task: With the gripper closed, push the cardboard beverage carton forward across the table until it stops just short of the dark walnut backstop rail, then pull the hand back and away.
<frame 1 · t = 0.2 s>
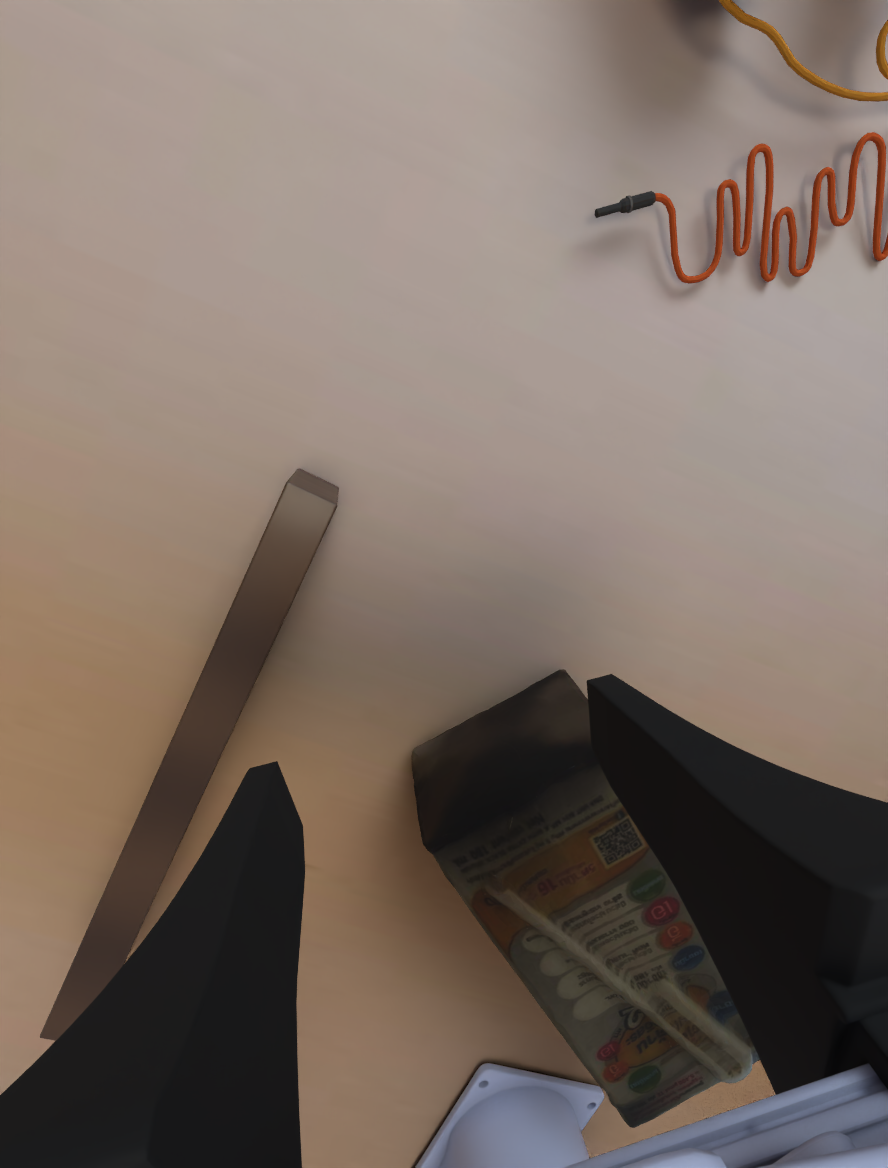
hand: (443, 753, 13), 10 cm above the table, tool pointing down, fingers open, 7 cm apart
backstop rail: (205, 727, 23), on the table
beverage carton: (569, 848, 28), on the table
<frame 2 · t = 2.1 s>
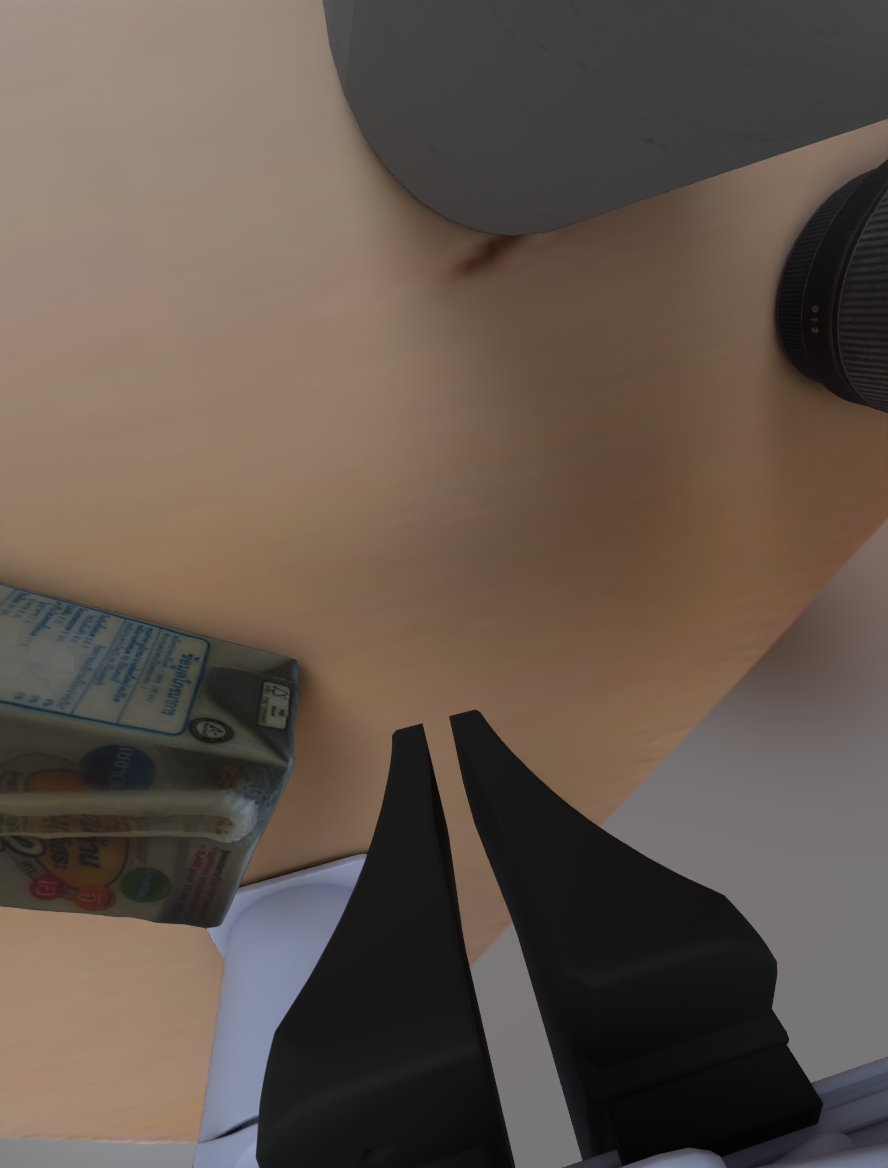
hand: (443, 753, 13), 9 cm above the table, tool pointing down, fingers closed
water bottle: (501, 31, 16), on the table
camera lens: (860, 282, 20), on the table
beverage carton: (6, 670, 20), on the table
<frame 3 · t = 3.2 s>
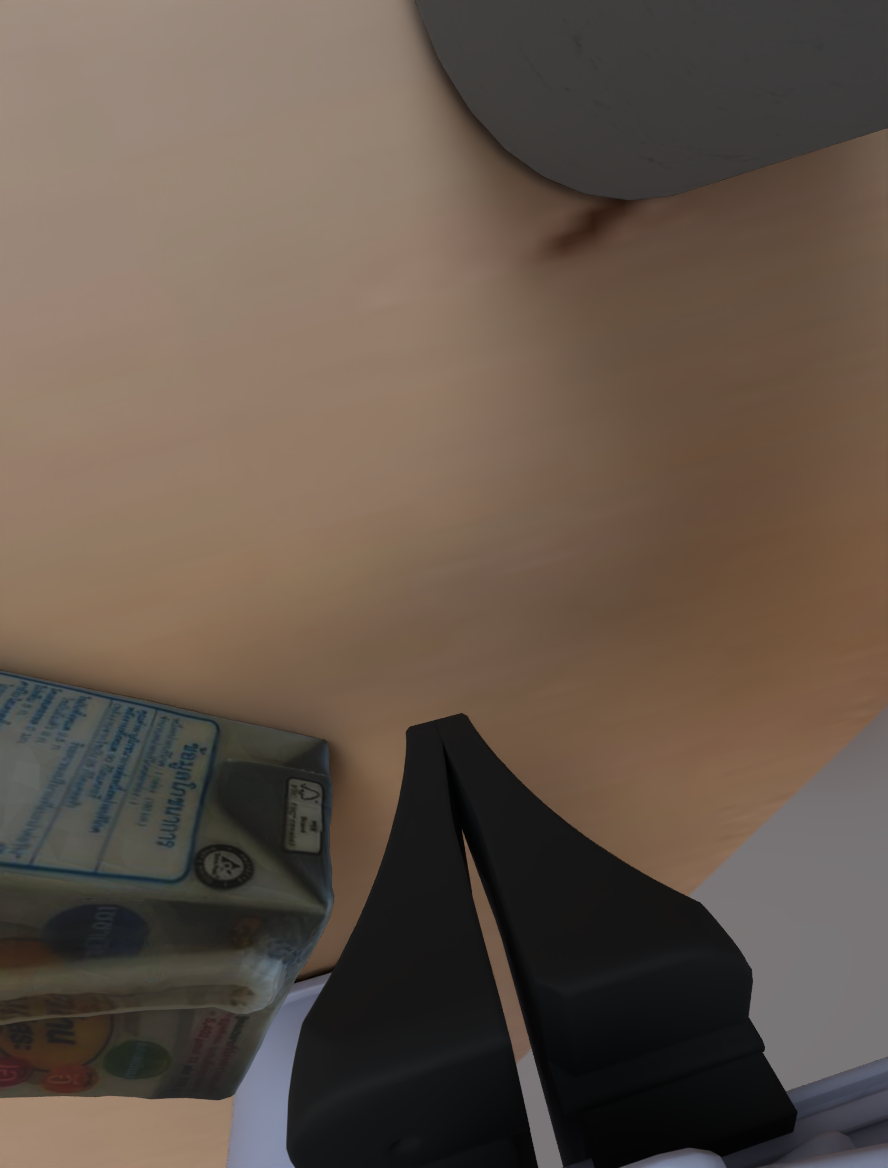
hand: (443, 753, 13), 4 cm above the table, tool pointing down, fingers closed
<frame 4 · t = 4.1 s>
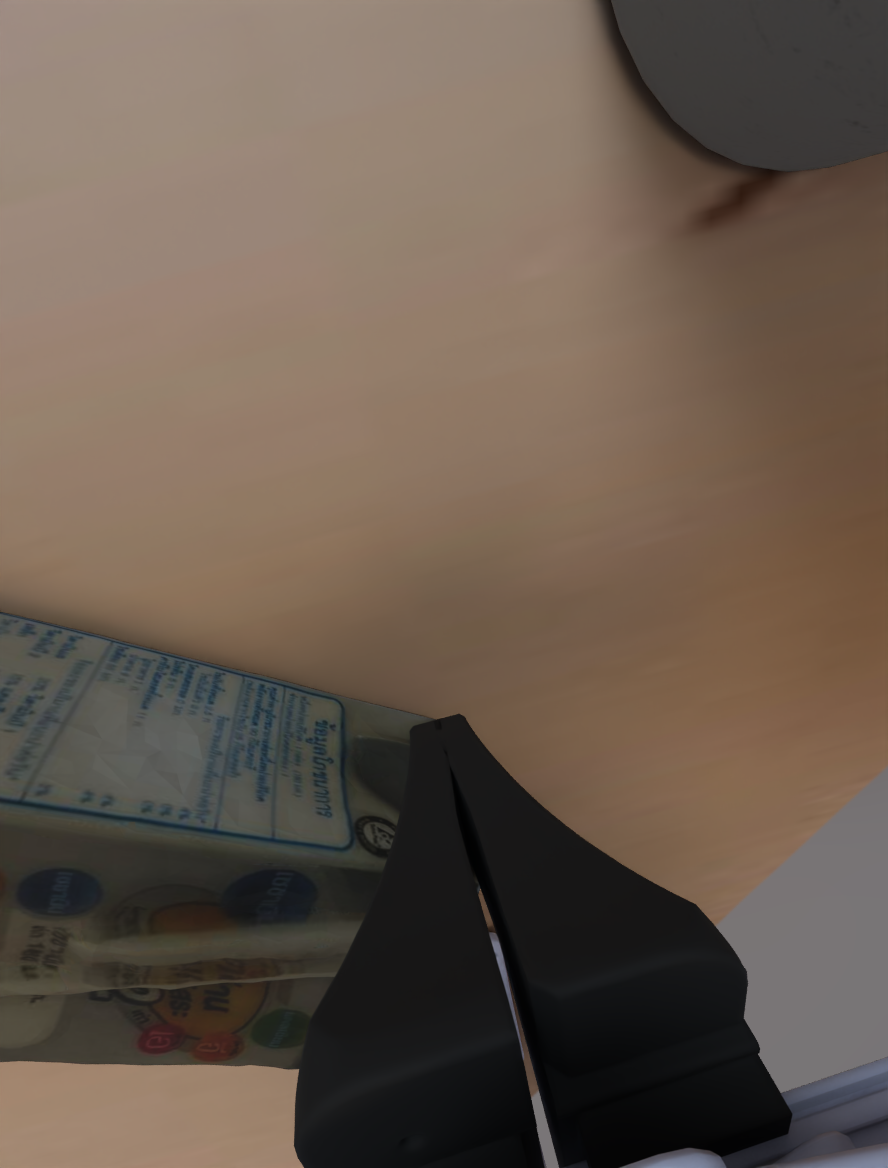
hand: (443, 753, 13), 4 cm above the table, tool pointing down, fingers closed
beverage carton: (87, 737, 16), on the table, touching gripper
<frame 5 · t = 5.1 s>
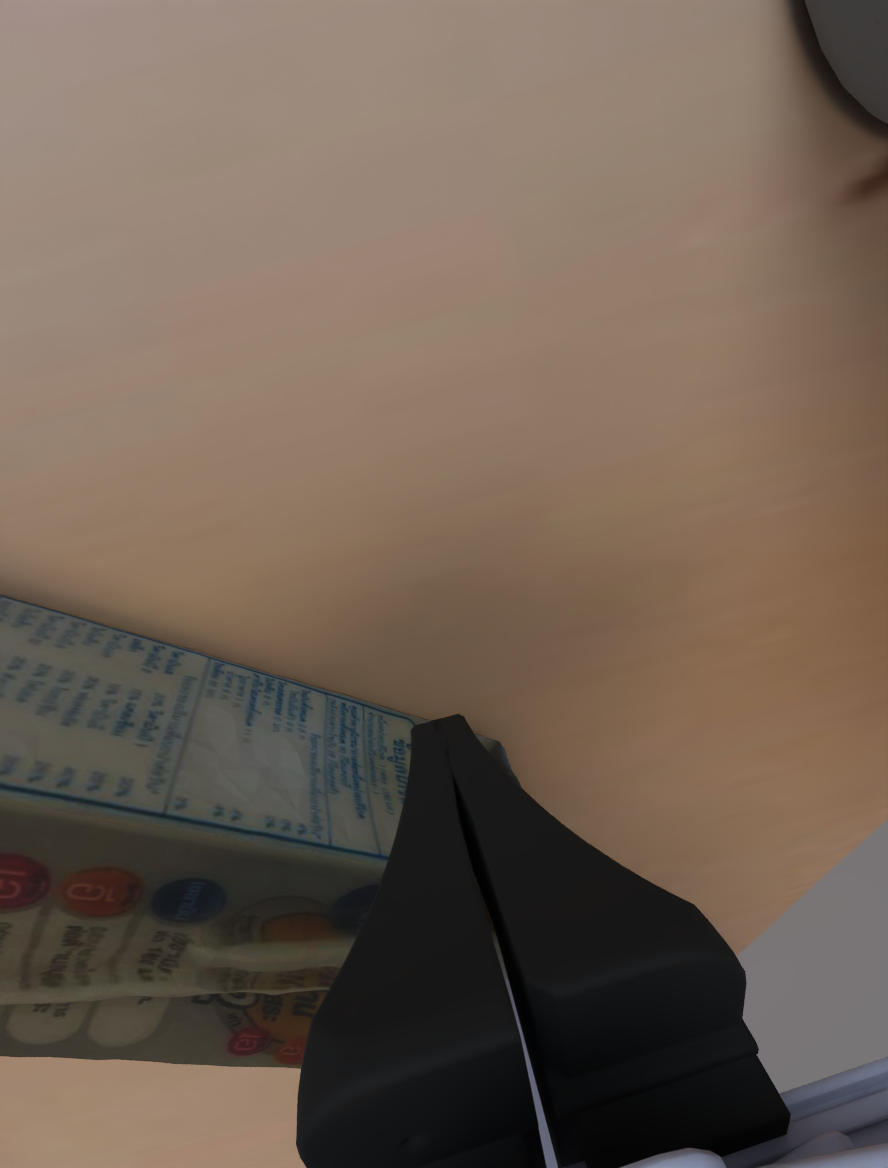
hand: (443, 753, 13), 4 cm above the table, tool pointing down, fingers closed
beverage carton: (167, 746, 17), on the table, touching gripper
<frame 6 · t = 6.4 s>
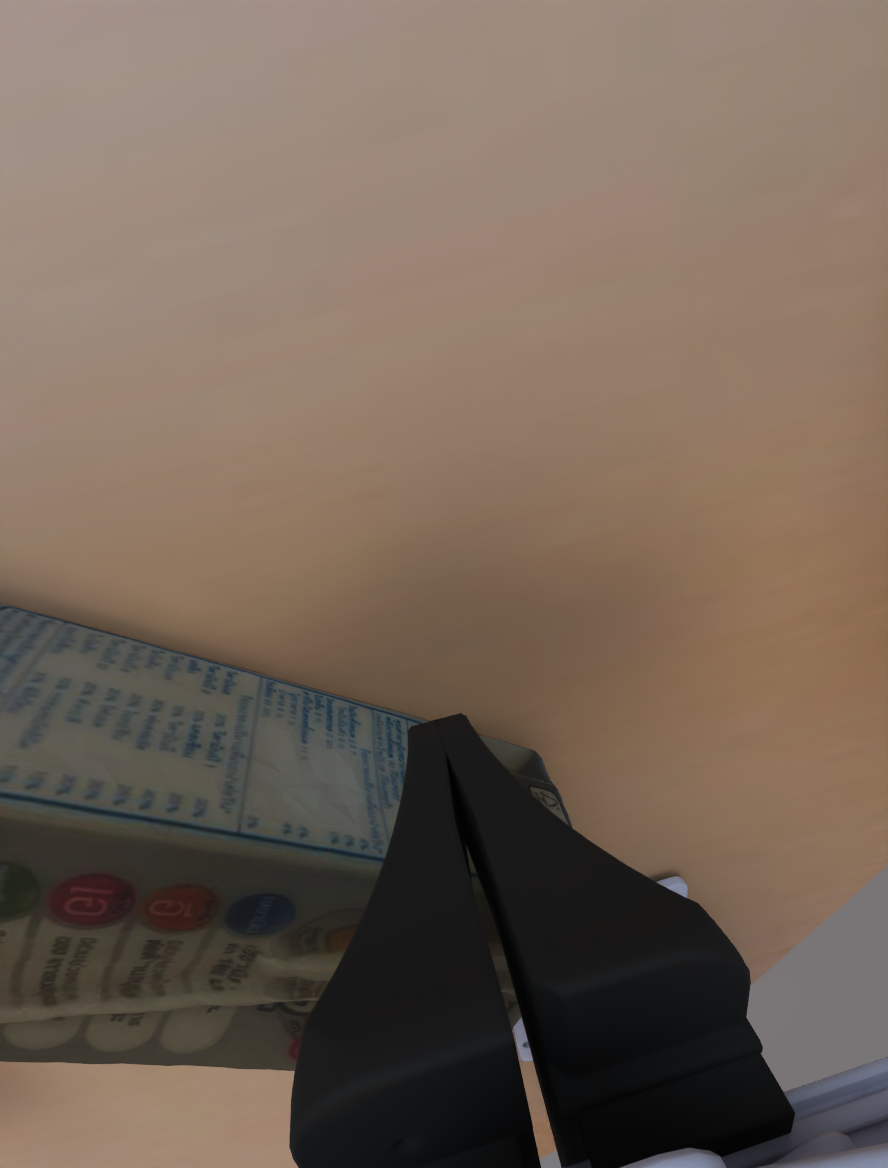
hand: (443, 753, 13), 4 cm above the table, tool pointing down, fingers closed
beverage carton: (217, 761, 18), on the table, touching gripper
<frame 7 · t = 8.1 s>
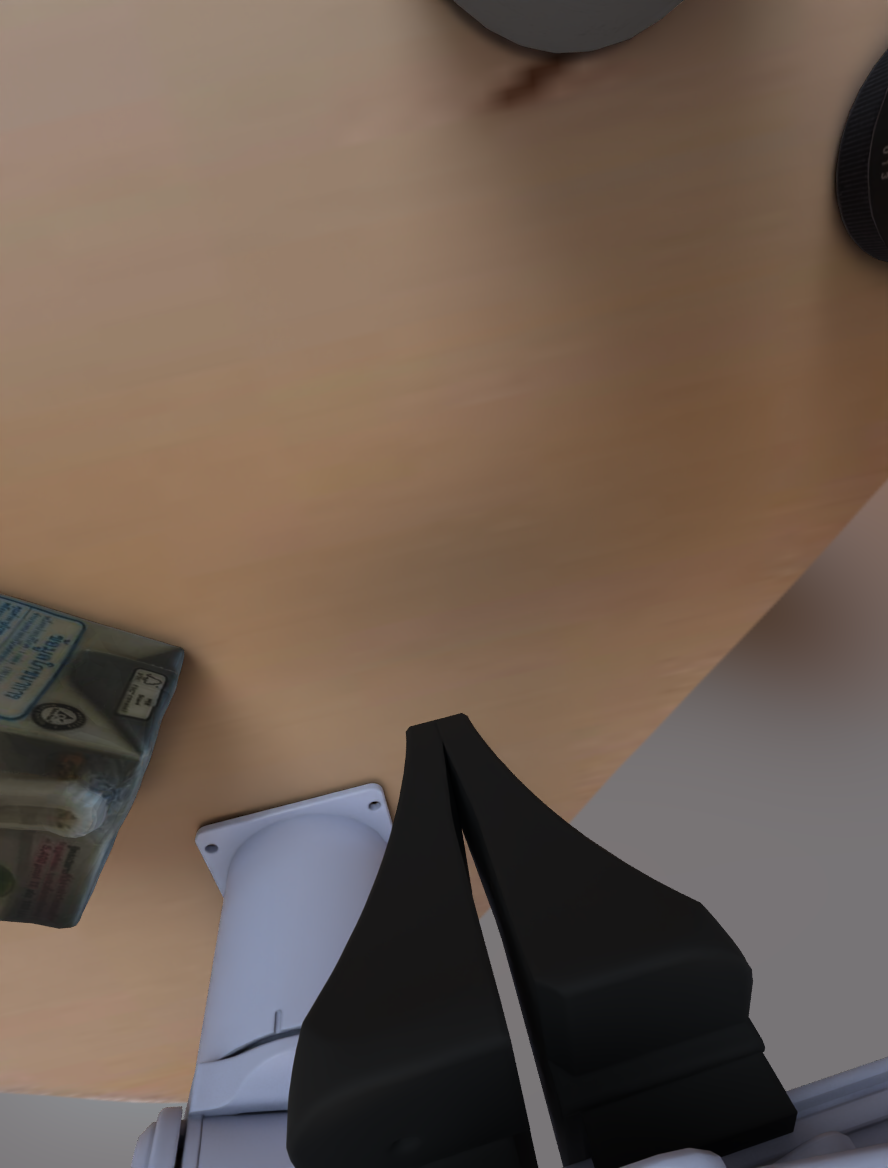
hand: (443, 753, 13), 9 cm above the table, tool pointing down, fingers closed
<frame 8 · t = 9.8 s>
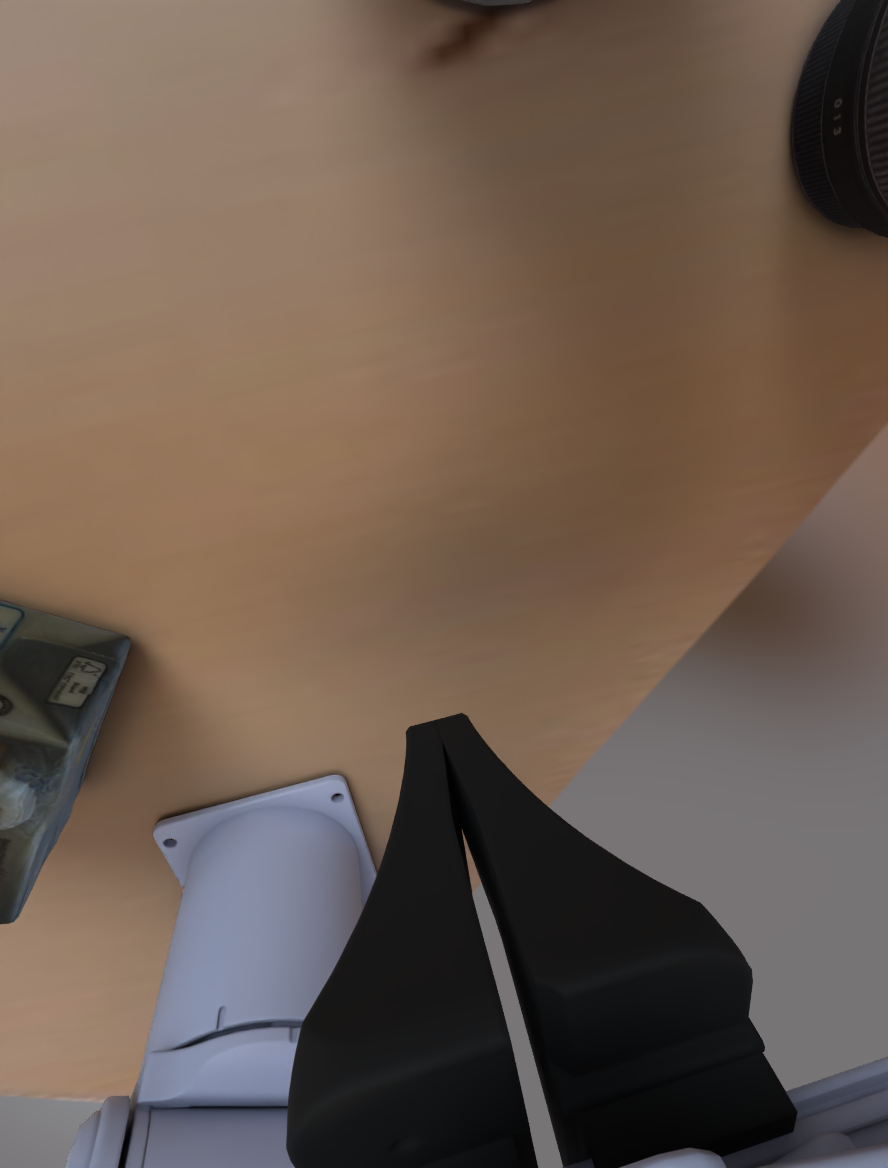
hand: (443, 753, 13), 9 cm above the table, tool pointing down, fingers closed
camera lens: (885, 102, 18), on the table
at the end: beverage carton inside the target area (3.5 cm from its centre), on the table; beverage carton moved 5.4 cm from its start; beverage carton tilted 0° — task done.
